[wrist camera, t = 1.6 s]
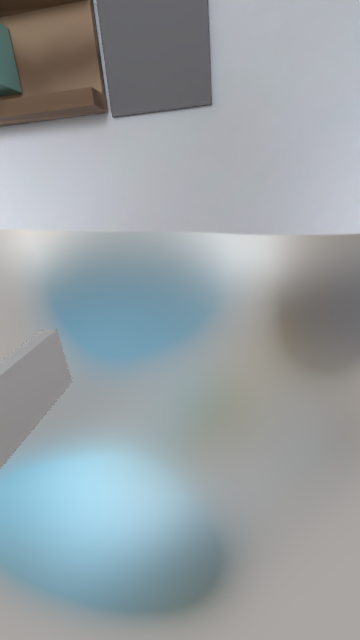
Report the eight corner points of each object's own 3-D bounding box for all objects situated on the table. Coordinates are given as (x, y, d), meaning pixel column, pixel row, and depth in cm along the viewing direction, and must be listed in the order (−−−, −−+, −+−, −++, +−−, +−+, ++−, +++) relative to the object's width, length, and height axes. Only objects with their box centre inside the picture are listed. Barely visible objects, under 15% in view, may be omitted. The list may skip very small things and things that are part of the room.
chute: (-71, 17, 33) (-104, -1, 30) (90, -17, 30) (72, -40, 27) (-39, 131, 37) (-65, 126, 34) (107, 112, 34) (94, 104, 31)
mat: (94, -25, 30) (92, -27, 30) (205, -48, 28) (205, -51, 28) (113, 117, 34) (112, 116, 34) (211, 104, 32) (211, 103, 32)
